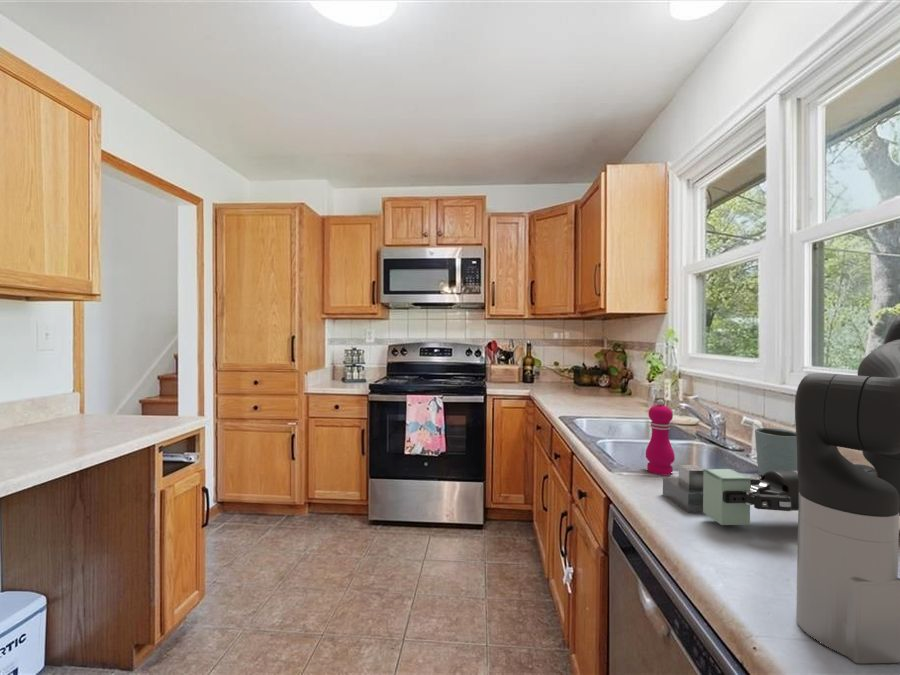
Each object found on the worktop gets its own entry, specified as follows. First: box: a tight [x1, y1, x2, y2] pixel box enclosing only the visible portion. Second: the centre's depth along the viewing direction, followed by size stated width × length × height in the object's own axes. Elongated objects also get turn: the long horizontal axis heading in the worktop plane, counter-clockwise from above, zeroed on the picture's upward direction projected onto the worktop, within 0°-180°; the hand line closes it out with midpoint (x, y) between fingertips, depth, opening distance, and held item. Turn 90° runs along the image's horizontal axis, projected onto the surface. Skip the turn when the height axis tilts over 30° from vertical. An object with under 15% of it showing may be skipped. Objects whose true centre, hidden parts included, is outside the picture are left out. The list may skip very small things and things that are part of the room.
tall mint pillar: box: [703, 468, 751, 526], centre depth 83 cm, size 6×6×9 cm
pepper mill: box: [645, 399, 676, 476], centre depth 115 cm, size 7×7×20 cm
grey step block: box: [662, 464, 705, 514], centre depth 94 cm, size 10×8×8 cm
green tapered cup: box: [754, 427, 797, 477], centre depth 112 cm, size 10×10×12 cm
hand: (713, 491), depth 83 cm, fingers closed on tall mint pillar, 5 cm apart
